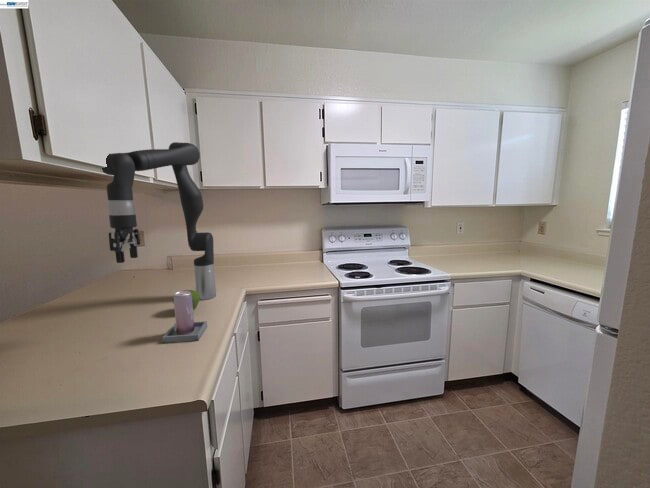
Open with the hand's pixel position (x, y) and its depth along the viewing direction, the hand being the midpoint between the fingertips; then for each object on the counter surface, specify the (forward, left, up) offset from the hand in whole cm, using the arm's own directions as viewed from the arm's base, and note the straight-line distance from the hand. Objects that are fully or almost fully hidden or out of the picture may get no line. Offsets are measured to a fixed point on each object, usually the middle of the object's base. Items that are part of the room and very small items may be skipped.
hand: (127, 260), depth 98 cm
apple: (-21, +11, -28) cm, 37 cm away
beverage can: (+2, +18, -28) cm, 33 cm away
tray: (+2, +18, -28) cm, 33 cm away
